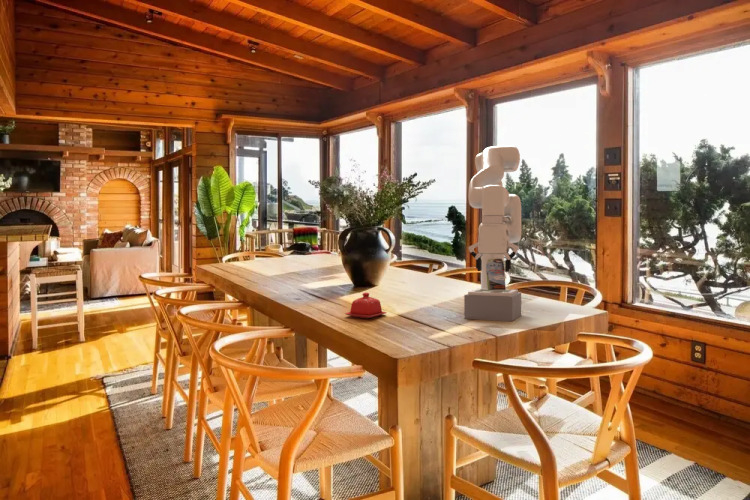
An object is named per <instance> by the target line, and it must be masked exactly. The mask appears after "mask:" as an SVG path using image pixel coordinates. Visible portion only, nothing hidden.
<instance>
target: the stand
mask: <svg viewBox="0 0 750 500" xmlns="http://www.w3.org/2000/svg"><path fill="white" fill-rule="evenodd" d="M463 297H464V299H463V300H464V304H463V305H464V307H463V308H464V312H463V313H464V319H465V320H485V321H498V322H499V321H501V322H502V321H503V322H513V321H515V320H516V319H518V318H519V317H521V316H522V292H521V291H519V290H518V289H506V290H504V292H500V293H498V292H490V291H488V289H481V288H476V289H472V290H469V291H468V292H467V293H466V294H464V296H463Z"/></svg>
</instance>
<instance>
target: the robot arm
mask: <svg viewBox="0 0 750 500" xmlns="http://www.w3.org/2000/svg"><path fill="white" fill-rule="evenodd" d="M520 156H521V155H520V152H519V148H518V147H516V146H515V145H493V146H492V145H491V146H488V147H486V148H484V150H483V151H482V152H480V153H478V154H477V155H476V156H475V158H474V163H475V165H474V166H475V168H476V172H477V173H476V174H475V175H474V176H472V178H471V180H470V181H469V185H468V204H469V206H470V207H471V208H473V209H481V223H480V224H479V226H478V238H477V242H475V243H474V244H473V243H472V245H470V246H468V247H467V249H468V251H469V253H470V255H471V256H472V257H473V258H474V260H475V269H477V272H480V289H488V287H487V271H486V263H487V261H488V259H492V258H501V259H502V261H503V262H504V272H510V270H511V269H512V259H513V258H514V257H515V256H516V255H517V253H518V251H519V249H520V247H519V246H518V245H516V243H519V242H520V241H521V239H522V203H521V198H520V196H519V195H518V194H516V193H515V194H513V193H510V192H509V191H508V189H507V188H506V187H504V186H503V181H502V180H503V178H504V177H505V173H514V172H516V171H517V170H518V168H519V165H520V161H521V157H520ZM475 248H477V253H476V252H475V250H474V249H475ZM510 248H512V252H511V253H509V252H510ZM505 258H506V259H505Z"/></svg>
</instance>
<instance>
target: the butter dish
mask: <svg viewBox="0 0 750 500" xmlns="http://www.w3.org/2000/svg"><path fill="white" fill-rule="evenodd" d="M361 295H362V296H363V297H358V298H356V299H354V300H353V301H352V303H351V306H350V310H349V312H348V311H347V312H345V313H344V314H345V315H346V316H350V317H353V318H362V319H373V318H376V317H377V318H378V317H379V316H383V315H385V314H387V312H386V311H382V310H383V309H382V305H381V302H380V299H378V298H375V297H373V296H370V293H369V292H363V293H362V294H361Z"/></svg>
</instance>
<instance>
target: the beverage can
mask: <svg viewBox="0 0 750 500" xmlns="http://www.w3.org/2000/svg"><path fill="white" fill-rule="evenodd" d="M486 271H487V287H488V291H490V292H498V293H500V292H504V290H506V277H505V276H506V274H505V272H506V271H505V261H504V262H503V261H502V259H501V258H492V259H488V261H487V263H486Z"/></svg>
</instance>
